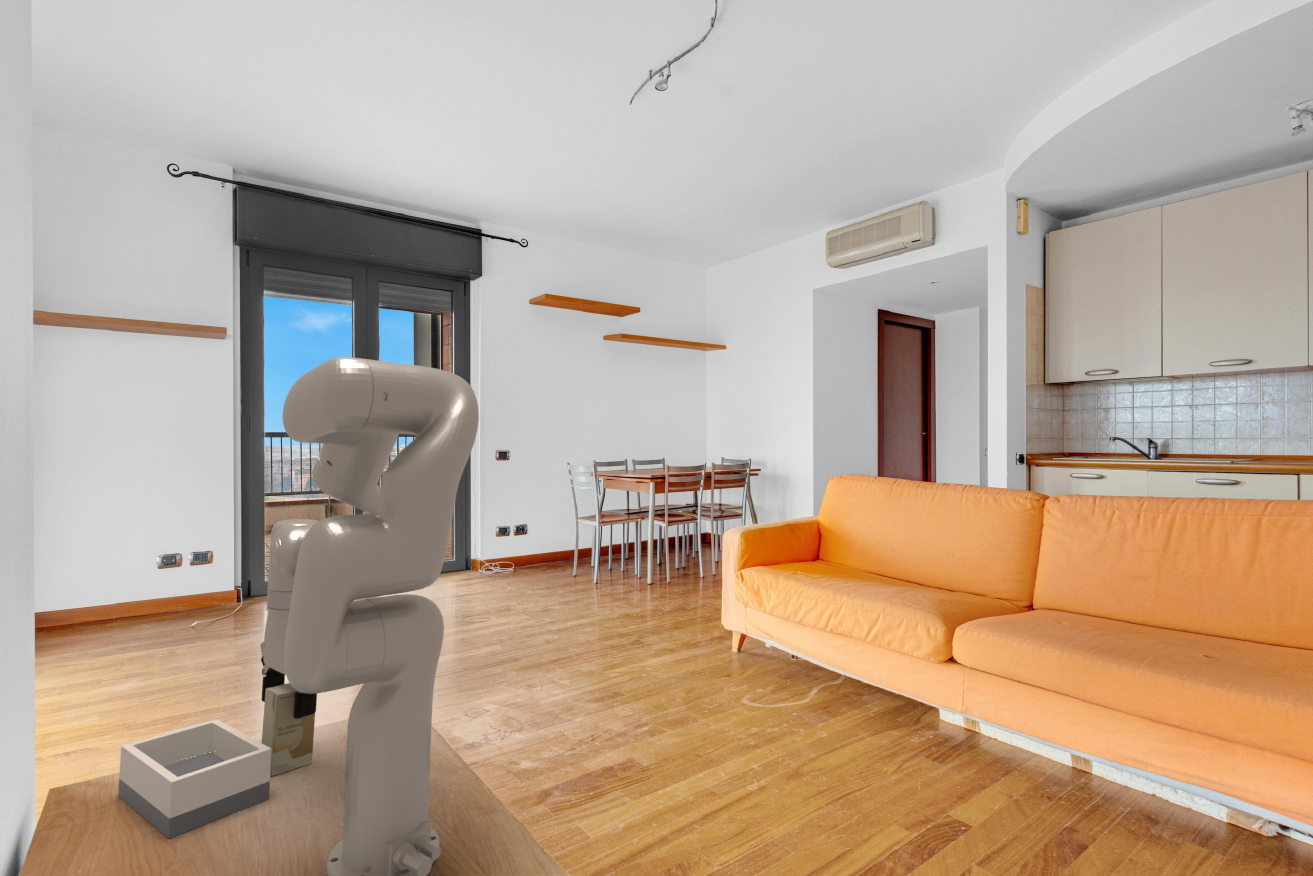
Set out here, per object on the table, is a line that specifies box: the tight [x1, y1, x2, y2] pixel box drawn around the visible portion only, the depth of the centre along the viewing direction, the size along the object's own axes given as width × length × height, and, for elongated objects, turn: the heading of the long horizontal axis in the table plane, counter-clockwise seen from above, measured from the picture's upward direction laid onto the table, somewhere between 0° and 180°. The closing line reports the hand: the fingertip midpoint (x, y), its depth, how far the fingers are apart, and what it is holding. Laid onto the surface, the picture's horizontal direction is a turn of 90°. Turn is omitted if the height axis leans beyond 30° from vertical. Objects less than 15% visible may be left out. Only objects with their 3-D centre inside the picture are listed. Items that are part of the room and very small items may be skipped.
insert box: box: [117, 718, 271, 840], centre depth 91 cm, size 17×12×7 cm
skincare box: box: [261, 682, 316, 777], centre depth 101 cm, size 6×4×12 cm
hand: (288, 707), depth 102 cm, fingers open, 9 cm apart
